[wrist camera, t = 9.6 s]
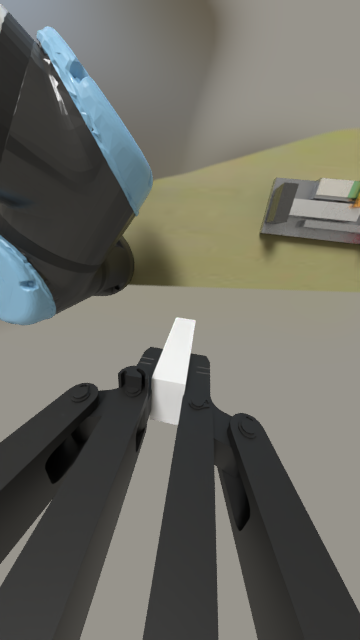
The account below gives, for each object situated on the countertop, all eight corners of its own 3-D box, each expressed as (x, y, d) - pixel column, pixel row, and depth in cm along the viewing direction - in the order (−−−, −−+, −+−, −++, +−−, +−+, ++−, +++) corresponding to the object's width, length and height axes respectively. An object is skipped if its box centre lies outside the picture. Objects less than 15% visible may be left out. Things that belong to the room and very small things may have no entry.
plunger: (265, 222, 31) (273, 220, 27) (279, 173, 28) (290, 163, 24) (344, 231, 30) (363, 230, 26) (367, 180, 27) (392, 171, 23)
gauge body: (259, 232, 33) (266, 232, 29) (274, 179, 29) (284, 170, 25) (374, 246, 31) (399, 247, 27) (404, 191, 28) (437, 183, 24)
